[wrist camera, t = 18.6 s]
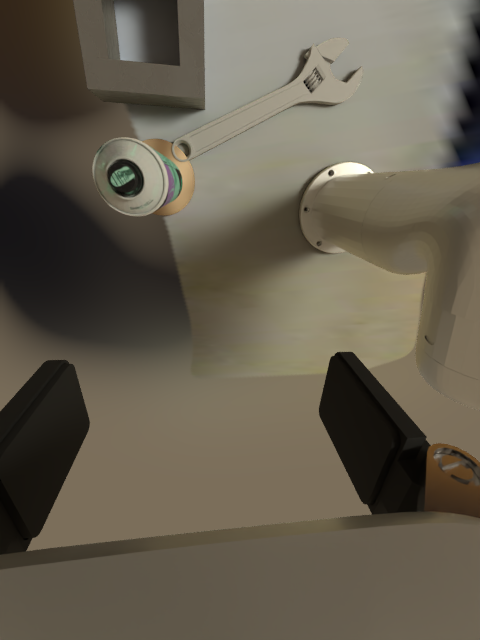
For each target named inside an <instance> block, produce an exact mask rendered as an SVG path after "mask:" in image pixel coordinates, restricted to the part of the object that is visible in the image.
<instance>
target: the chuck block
mask: <svg viewBox="0 0 480 640" xmlns="http://www.w3.org/2000/svg"><path fill="white" fill-rule="evenodd" d="M73 3H74V9H75V15H76V22H77V28H78V34H79V40H80V46H81V51H82V58H83V64H84V71H85V77H86V83H87V89H89V90H90V91H91V92H92V93H94V94H95V95H96V96H97V97H99V98H100V99H101V100H102V101H104V102H116V103H129V104H141V105H154V106H166V107H179V108H191V109H204V110H205V71H204V0H177V6H178V30H179V53H180V66H174V65H164V64H154V63H144V62H133V61H123V60H120V53H119V44H118V35H117V27H116V18H115V10H114V1H113V0H73Z"/></svg>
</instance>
